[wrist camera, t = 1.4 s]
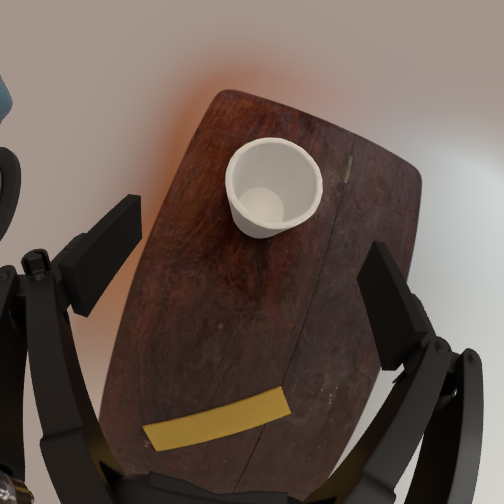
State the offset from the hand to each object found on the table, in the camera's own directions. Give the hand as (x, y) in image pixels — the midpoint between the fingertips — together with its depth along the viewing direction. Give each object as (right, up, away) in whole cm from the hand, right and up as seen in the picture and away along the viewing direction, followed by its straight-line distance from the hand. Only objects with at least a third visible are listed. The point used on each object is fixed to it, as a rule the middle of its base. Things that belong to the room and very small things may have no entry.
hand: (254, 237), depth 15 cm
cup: (+1, +5, +24) cm, 25 cm away
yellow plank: (-6, -26, +20) cm, 33 cm away
